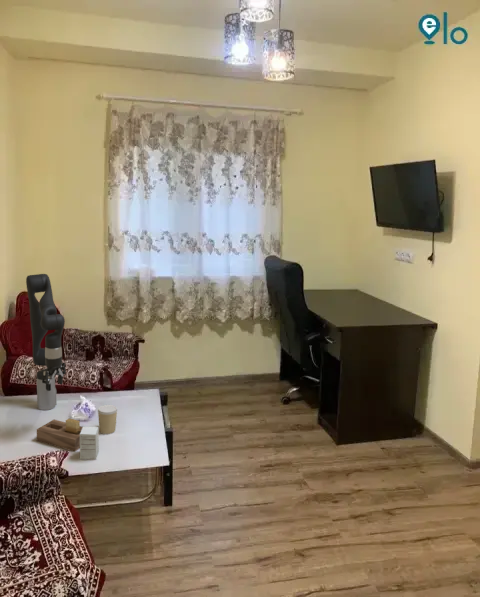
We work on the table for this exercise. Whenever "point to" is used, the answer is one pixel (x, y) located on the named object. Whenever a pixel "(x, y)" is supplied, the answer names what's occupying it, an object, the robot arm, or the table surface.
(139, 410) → the table surface
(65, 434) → the two-slot wooden tray
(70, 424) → the yellow tan block
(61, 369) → the robot arm
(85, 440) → the miniature drawer cabinet
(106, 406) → the coffee cup
